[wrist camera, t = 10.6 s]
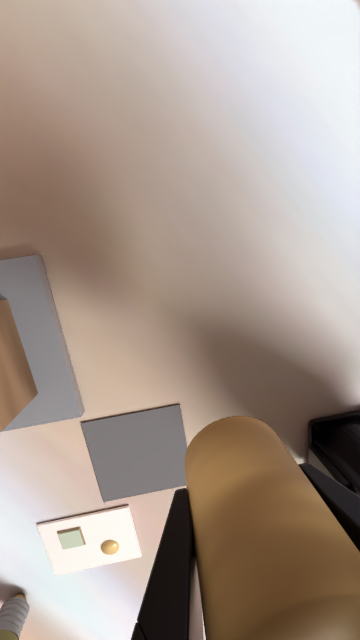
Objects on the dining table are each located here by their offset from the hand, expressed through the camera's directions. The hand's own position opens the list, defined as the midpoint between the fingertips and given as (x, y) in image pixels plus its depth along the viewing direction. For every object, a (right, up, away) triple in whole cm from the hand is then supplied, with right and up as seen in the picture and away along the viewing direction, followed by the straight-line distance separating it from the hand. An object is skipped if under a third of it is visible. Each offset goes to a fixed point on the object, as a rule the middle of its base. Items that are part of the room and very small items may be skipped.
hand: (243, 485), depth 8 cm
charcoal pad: (-6, -6, +12) cm, 14 cm away
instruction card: (-10, -14, +13) cm, 22 cm away
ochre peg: (0, 0, +1) cm, 1 cm away
